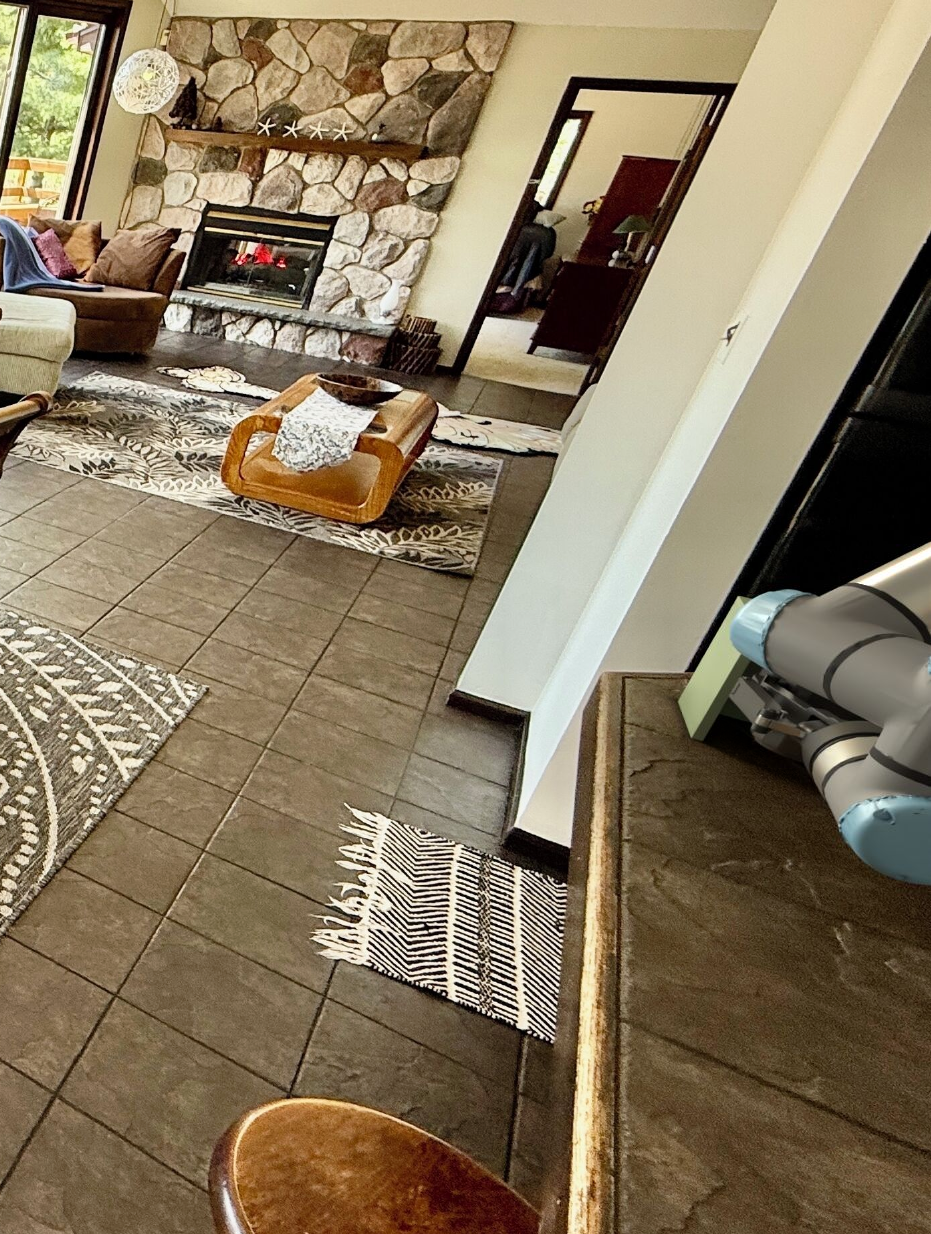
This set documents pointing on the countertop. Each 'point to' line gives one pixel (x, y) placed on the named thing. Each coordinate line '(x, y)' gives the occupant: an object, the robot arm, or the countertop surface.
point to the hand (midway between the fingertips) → (814, 686)
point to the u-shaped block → (716, 681)
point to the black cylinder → (783, 741)
